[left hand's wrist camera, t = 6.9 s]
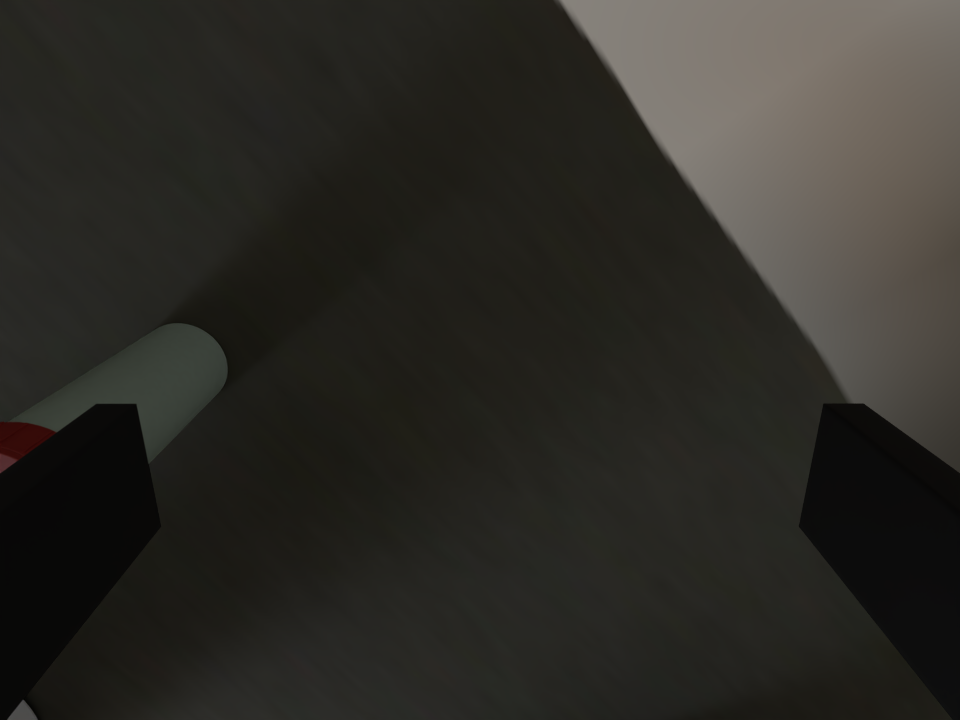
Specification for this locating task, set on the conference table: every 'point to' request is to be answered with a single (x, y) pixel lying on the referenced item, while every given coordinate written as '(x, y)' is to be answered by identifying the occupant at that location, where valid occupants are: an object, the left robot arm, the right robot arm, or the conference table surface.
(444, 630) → the conference table surface
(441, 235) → the conference table surface
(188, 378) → the jar
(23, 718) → the right robot arm
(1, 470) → the lid
